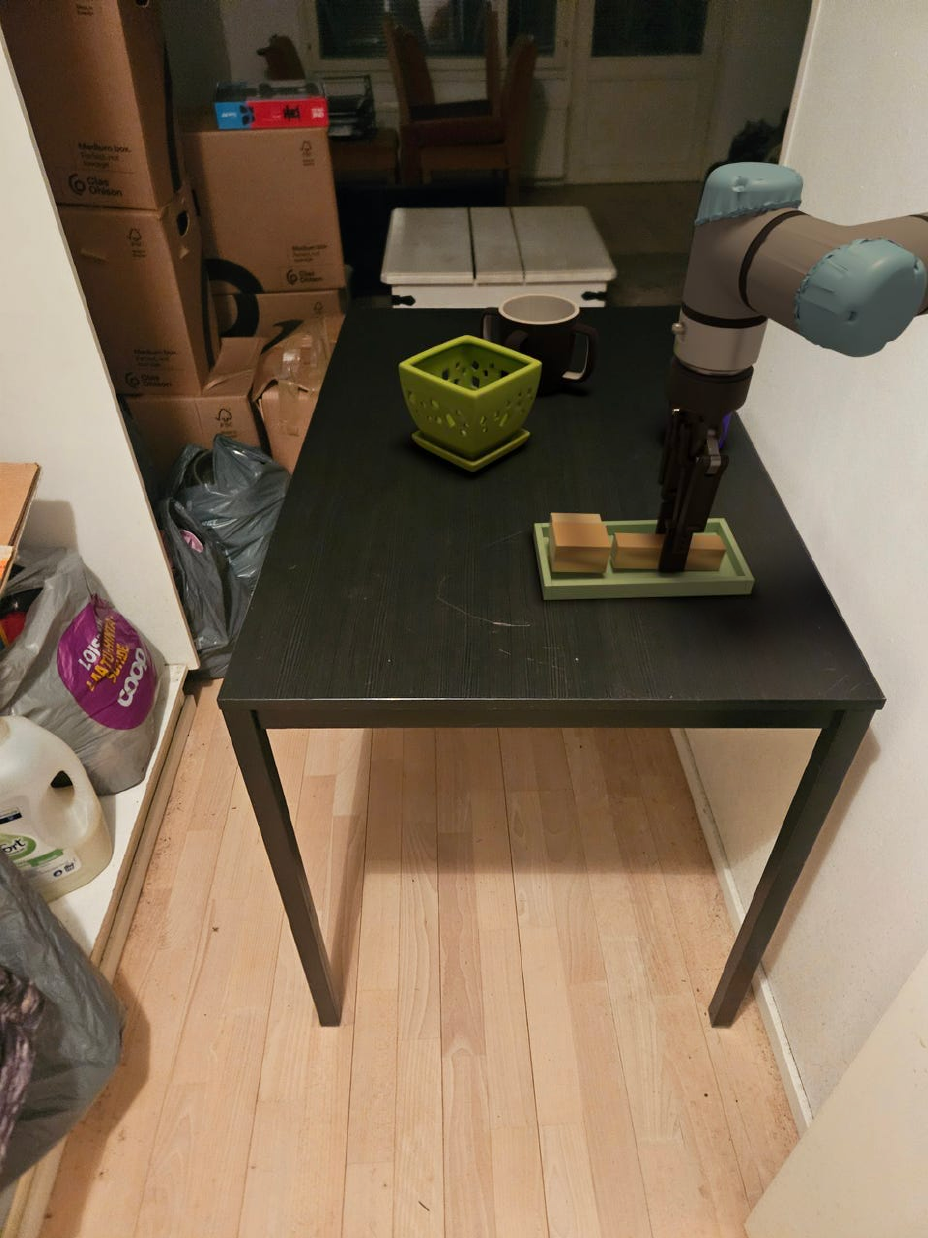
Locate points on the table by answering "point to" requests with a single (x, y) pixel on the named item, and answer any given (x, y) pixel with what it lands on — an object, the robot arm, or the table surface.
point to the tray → (644, 570)
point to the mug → (543, 335)
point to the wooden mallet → (618, 547)
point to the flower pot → (470, 400)
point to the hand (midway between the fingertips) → (667, 560)
